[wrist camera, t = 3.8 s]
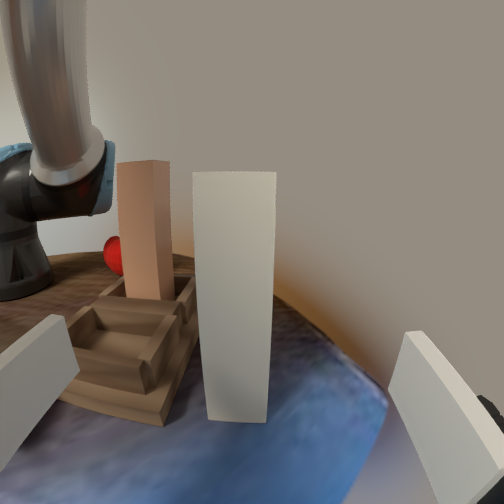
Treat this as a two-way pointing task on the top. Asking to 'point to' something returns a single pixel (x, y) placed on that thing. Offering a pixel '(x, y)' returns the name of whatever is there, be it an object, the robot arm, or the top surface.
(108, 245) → the tomato
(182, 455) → the top surface
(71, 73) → the robot arm
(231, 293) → the white rectangular block
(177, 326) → the rack
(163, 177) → the salmon orange block
